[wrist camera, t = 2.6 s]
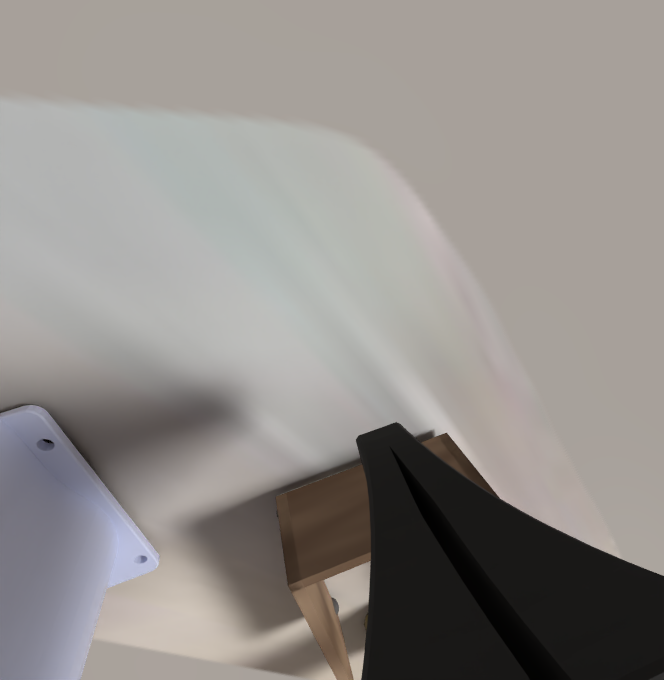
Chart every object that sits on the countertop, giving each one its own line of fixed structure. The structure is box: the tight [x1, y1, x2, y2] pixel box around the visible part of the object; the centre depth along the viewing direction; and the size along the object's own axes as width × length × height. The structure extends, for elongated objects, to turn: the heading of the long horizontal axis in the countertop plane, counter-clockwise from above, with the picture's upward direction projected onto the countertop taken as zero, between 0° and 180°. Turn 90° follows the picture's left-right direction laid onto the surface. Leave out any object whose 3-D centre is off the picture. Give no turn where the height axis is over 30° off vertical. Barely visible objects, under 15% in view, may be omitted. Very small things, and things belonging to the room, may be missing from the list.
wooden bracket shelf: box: [276, 433, 499, 680], centre depth 18 cm, size 11×9×4 cm
